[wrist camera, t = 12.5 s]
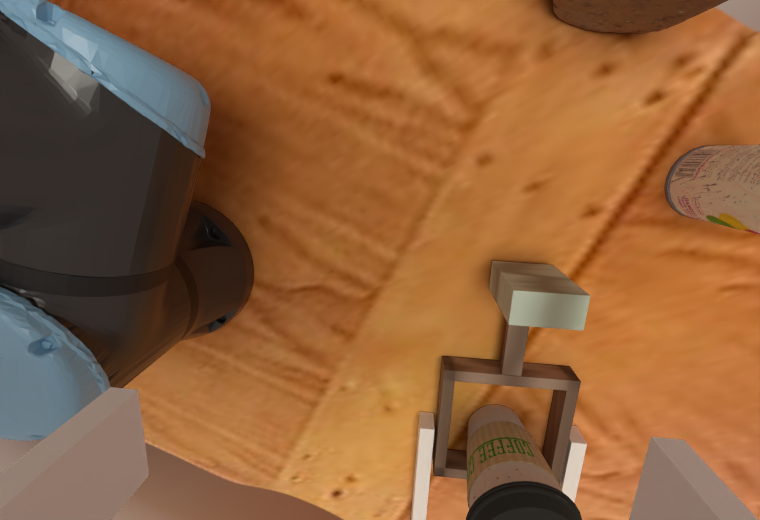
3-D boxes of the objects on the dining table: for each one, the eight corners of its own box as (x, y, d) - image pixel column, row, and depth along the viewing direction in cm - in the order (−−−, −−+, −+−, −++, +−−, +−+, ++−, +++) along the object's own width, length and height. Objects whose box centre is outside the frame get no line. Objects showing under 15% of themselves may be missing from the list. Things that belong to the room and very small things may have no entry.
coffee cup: (471, 378, 46) (497, 483, 32) (552, 407, 46) (614, 525, 32) (439, 445, 49) (449, 570, 34) (515, 472, 49) (558, 608, 34)
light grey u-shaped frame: (408, 542, 53) (408, 565, 50) (419, 411, 48) (419, 428, 45) (548, 558, 52) (556, 582, 49) (576, 425, 46) (586, 444, 43)
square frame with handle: (432, 456, 49) (436, 531, 39) (451, 255, 42) (463, 286, 33) (550, 468, 48) (584, 547, 38) (589, 264, 41) (642, 299, 32)
